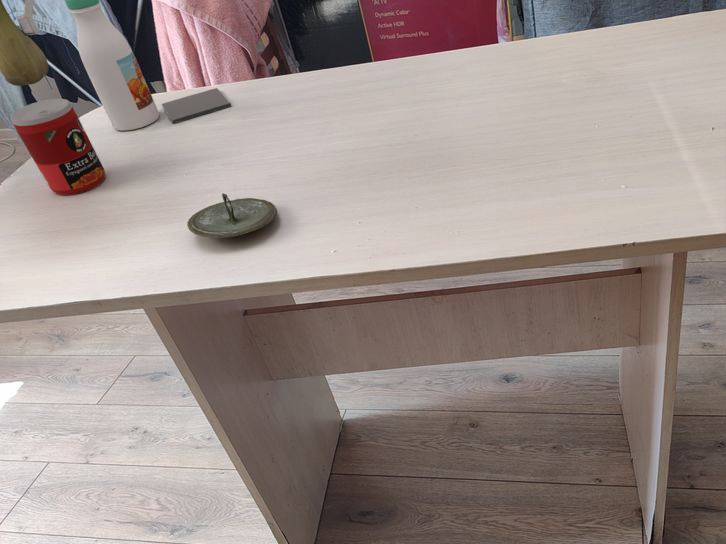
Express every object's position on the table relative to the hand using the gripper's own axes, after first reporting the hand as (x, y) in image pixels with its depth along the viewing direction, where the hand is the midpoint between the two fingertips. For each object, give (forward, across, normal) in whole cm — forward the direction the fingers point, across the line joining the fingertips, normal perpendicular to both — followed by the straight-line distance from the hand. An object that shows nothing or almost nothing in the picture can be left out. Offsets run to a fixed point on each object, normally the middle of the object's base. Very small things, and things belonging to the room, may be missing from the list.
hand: (7, 39), depth 74 cm
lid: (+22, -14, +15) cm, 31 cm away
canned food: (+23, +2, -15) cm, 27 cm away
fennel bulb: (+5, 0, 0) cm, 5 cm away
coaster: (+23, -19, -33) cm, 44 cm away
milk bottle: (+23, -9, -34) cm, 42 cm away
